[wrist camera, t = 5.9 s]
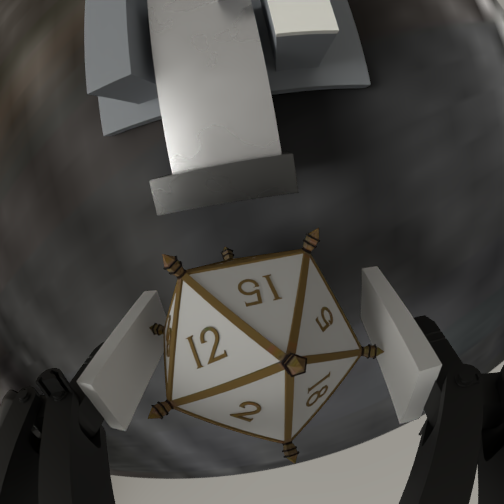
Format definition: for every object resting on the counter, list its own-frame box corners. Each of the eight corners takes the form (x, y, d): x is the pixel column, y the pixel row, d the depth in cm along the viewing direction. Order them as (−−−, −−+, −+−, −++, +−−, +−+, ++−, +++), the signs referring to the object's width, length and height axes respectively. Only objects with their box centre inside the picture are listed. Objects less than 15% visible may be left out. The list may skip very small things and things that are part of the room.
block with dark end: (194, 192, 13) (148, 221, 8) (166, 25, 10) (117, -18, 5) (342, 170, 12) (384, 188, 7) (307, 0, 9) (320, -61, 4)
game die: (290, 279, 18) (349, 428, 12) (156, 306, 16) (192, 474, 10) (328, 160, 11) (469, 394, 5) (111, 186, 9) (140, 522, 3)
